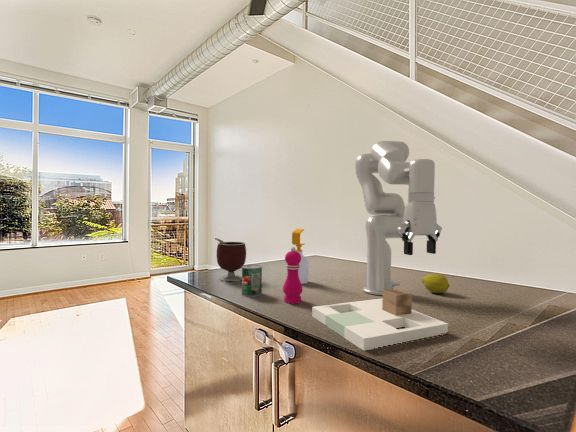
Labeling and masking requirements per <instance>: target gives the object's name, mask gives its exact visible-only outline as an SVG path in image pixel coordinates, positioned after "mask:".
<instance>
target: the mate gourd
mask: <svg viewBox="0 0 576 432" xmlns="http://www.w3.org/2000/svg"><path fill="white" fill-rule="evenodd" d="M214 240H215V241H218V242H217V248H216V262H217V264H218V266H219V267H220V269H222V270H224V271H227V274H225V275H220V276H218V277H217V280H218V279H219V280H221V281H220V282H223V281H237V282H241V281H240V280H242V275H238V274H236V273H235V272H237V271H238V270H240V269H242V266H244V265H246V259H247V248H246V242H244V241H243V242H242V241H223V240H221V239H219V238H216V237H215V238H214ZM219 280H218V281H219Z"/></svg>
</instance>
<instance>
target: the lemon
mask: <svg viewBox="0 0 576 432" xmlns="http://www.w3.org/2000/svg"><path fill="white" fill-rule="evenodd" d="M421 283H422V284H424V287H425V289H427V291H429V292H431V293H434V294H437V293H438V295H439V294H440V293H441V294H444V293H446V292H447V291H448V289H449V288H450V286H451V285H450V283H449V280H448V279H447V277H446V276H444V275H443V274H440V273H430V274H427V275H425V276H423V277H422V278H421ZM441 294H440V295H441Z"/></svg>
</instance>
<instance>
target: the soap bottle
mask: <svg viewBox="0 0 576 432" xmlns="http://www.w3.org/2000/svg"><path fill="white" fill-rule="evenodd" d="M304 231H305V228H296V229H294V230H293V231H292V233H291V243H292V245H295V248H296V250H295V251H296V252H298V253H300V255H301V261H300V263H299V265H300V269H299V270H298V276H299V279H300V282H301V284H302V285H306V284H308V283H309V262H310V261H309V259H308V258H307V257H306V256H304V255H303V249H301V248H302V247H303V246H304V245H305V243H301V233H303V232H304Z"/></svg>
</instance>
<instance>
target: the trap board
mask: <svg viewBox="0 0 576 432" xmlns="http://www.w3.org/2000/svg"><path fill="white" fill-rule="evenodd" d="M382 300H383V297H381V298H373V299H367V300H365V299H364V300H359V301H357V300H356V301H349V302H342V303H341V302H339V303H332V304H324V305H316V306H311V317H312V318H314V319H316V320H317V321H319V322H320V323H322V324H323V325H325V326H326V327H327V328H329V329H330V330H332V331H333V332H335V333H336V334H338V335H340V336H341V337H343V338H344V339H345V340H347V342H348V341H349V342H350V343H351V344H353V345H354V346H356V347H357V348H359V349H361V350H362V351H370V350H375V349H379V348H378V347H381V348H384V347H383V346H386V347H389V346H388V345H391V346H394V345H393V344H396V345H398V344H397V343H401V344H403V343H402V342H406V341H410V340H415V339H419V338H424V337H429V336H434V335H438V334H441V333H446V332H448V333H449V323H447V322H445V321H443V320H440V319H437V318H435V317H431V316H429V315H427V314H424V313H422V312H419V311H417V310H415V309H412V312H411V314H404V315H398V316H395V315H393V314H391V313H388V312H386V311H384V310H382ZM399 327H405V328H399ZM396 328H399V329H396ZM406 343H407V342H406ZM374 348H375V349H374Z"/></svg>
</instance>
